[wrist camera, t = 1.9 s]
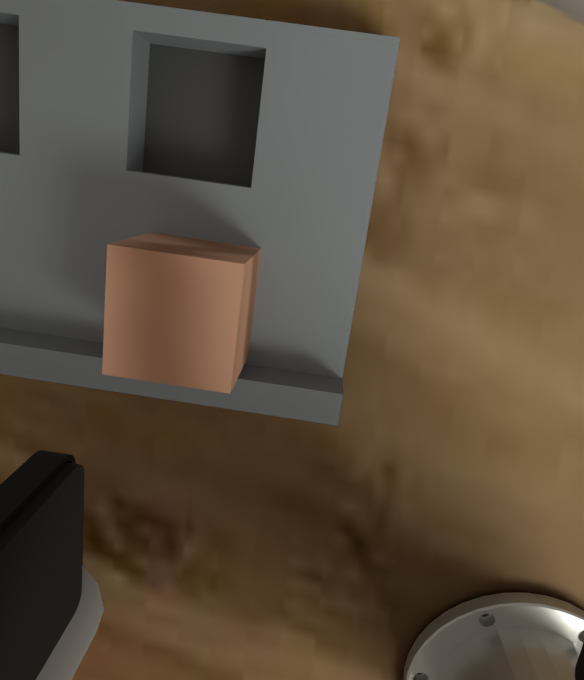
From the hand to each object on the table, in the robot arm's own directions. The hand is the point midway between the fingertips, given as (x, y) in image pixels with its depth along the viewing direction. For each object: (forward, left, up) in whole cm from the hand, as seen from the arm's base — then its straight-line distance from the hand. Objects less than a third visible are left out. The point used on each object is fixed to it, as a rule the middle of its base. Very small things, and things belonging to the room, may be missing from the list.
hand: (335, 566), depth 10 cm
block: (+6, -1, -16) cm, 17 cm away
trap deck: (+13, -4, -19) cm, 23 cm away
